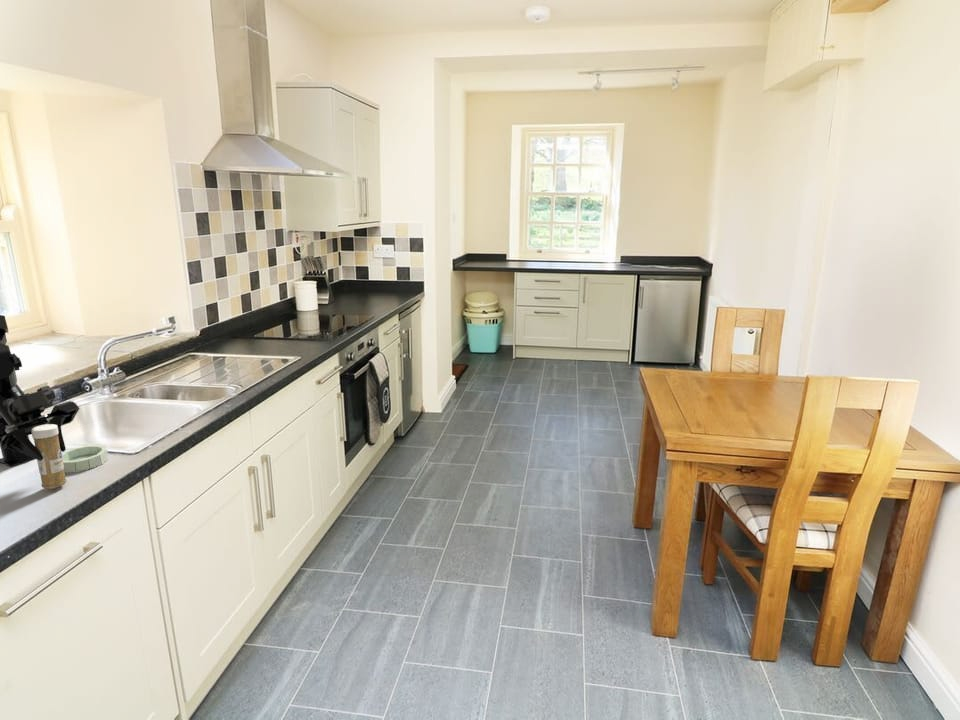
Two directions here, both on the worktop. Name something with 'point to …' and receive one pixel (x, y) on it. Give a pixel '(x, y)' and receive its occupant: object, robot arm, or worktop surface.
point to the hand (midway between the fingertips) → (53, 454)
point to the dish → (84, 458)
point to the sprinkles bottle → (49, 455)
